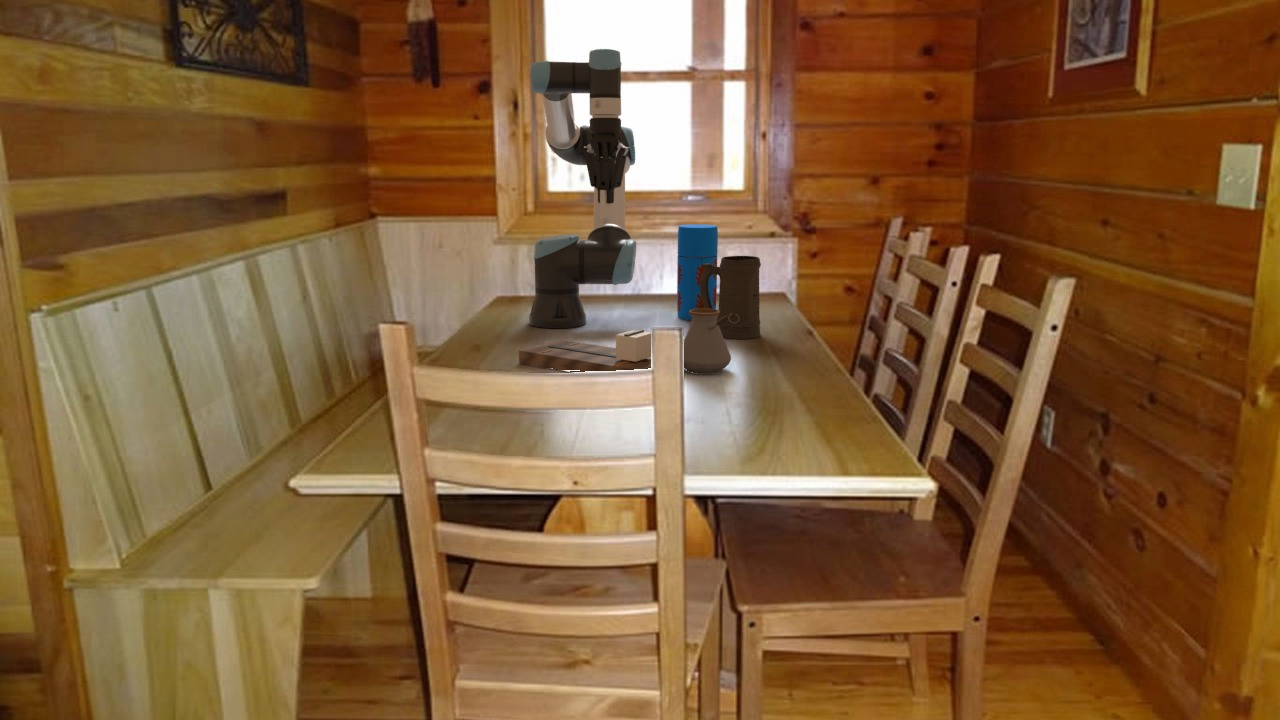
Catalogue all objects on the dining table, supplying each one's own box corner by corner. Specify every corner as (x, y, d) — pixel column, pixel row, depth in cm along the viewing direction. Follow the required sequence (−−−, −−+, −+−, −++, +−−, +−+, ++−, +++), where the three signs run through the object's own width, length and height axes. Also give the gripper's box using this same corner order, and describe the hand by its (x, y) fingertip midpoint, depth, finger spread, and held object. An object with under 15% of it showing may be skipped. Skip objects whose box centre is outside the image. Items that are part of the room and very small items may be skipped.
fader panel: (519, 363, 205) (518, 349, 204) (560, 352, 216) (559, 338, 215) (639, 384, 187) (639, 369, 186) (677, 371, 198) (677, 356, 197)
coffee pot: (669, 366, 203) (669, 297, 199) (718, 362, 206) (719, 295, 203) (705, 390, 183) (707, 314, 180) (759, 386, 186) (762, 311, 183)
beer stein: (762, 331, 240) (759, 253, 236) (764, 339, 230) (760, 258, 225) (702, 334, 242) (698, 256, 238) (701, 342, 231) (697, 261, 227)
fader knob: (616, 358, 194) (615, 332, 193) (632, 353, 199) (632, 328, 198) (635, 361, 191) (635, 335, 190) (652, 356, 196) (652, 331, 195)
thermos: (721, 315, 263) (723, 225, 257) (707, 321, 254) (709, 228, 248) (685, 312, 267) (686, 223, 262) (670, 318, 258) (671, 227, 252)
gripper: (574, 117, 224) (575, 216, 229) (618, 116, 217) (618, 219, 222) (593, 117, 230) (594, 215, 235) (636, 117, 223) (636, 217, 228)
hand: (605, 217), depth 229 cm, fingers closed
